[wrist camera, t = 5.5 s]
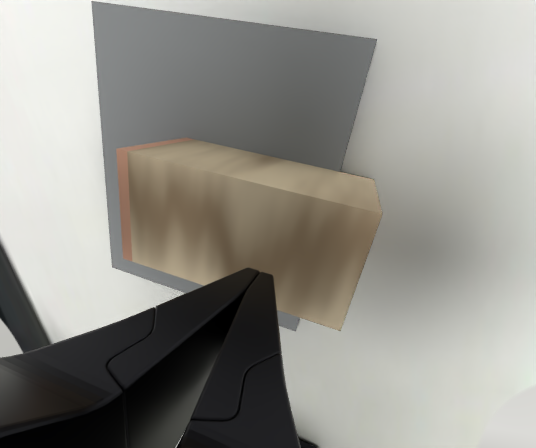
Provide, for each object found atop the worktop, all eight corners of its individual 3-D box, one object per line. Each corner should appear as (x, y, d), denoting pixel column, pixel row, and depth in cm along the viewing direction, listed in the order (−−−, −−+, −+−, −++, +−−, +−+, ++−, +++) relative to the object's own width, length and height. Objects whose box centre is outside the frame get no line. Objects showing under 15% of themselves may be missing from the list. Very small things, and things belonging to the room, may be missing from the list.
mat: (297, 325, 18) (295, 331, 18) (117, 263, 21) (111, 267, 21) (376, 41, 12) (377, 39, 11) (99, 4, 14) (91, 0, 14)
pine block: (340, 330, 11) (123, 258, 13) (345, 267, 15) (183, 220, 17) (382, 214, 9) (116, 148, 11) (373, 179, 13) (186, 137, 15)
